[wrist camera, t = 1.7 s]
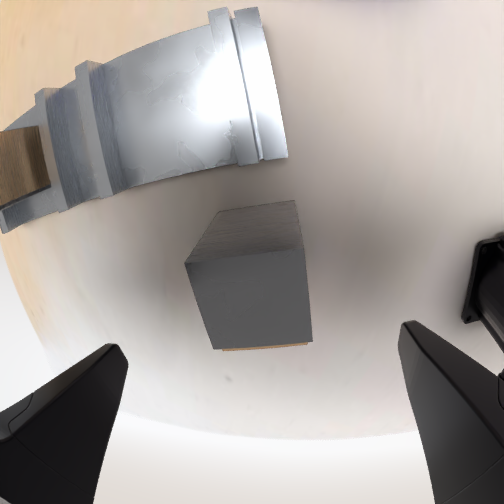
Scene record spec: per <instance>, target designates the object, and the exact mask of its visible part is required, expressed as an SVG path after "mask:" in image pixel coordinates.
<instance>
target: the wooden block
mask: <svg viewBox="0 0 504 504" xmlns="http://www.w3.org/2000/svg"><path fill="white" fill-rule="evenodd" d="M49 188H51V183H50V179H49V175H48V171H47V167H46V162H45V158H44V153H43V148H42V143H41V137H40V132H39V125H36V126H30V127H23V128H17V129H12V130H7V131H2V132H0V212H1V211H3V210H5V209H7V208H9V207H11V206H13V205H15V204H18V203H20V202H22V201H24V200H26V199H28V198H30V197H32V196H34V195H36V194H38V193H40V192H43V191H45V190H47V189H49Z"/></svg>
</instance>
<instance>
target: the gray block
mask: <svg viewBox="0 0 504 504" xmlns="http://www.w3.org/2000/svg"><path fill="white" fill-rule="evenodd" d="M184 264H185V267H186V270H187V273H188V276H189V279H190V283H191V286H192V289H193V292H194V295H195V298H196V301H197V304H198V307H199V310H200V313H201V316H202V318H203V321H204V324H205V327H206V330H207V333H208V335H209V338H210V341H211V344H212V346H213V349H222V350H223V351H234V350H251V349H265V348H277V347H288V346H298V345H307V344H308V342H313V340H312V327H311V315H310V303H309V293H308V283H307V273H306V264H305V255H304V247H303V241H302V236H301V231H300V226H299V220H298V215H297V210H296V205H295V200H293V201H285V202H278V203H271V204H264V205H258V206H251V207H244V208H238V209H232V210H226V211H220V212H218V214H217V215H216V216H215V218H214V219H213V221H212V222H211V224H210V225H209V227H208V228H207V230H206V231H205V233H204V234H203V236H202V237H201V239H200V240H199V242H198V243H197V245H196V246H195V248H194V249H193V251H192V252H191V254H190V255H189V257H188V259H187V260H186V262H185V263H184Z"/></svg>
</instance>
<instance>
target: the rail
mask: <svg viewBox="0 0 504 504" xmlns="http://www.w3.org/2000/svg"><path fill="white" fill-rule="evenodd" d="M234 14H235V18H234V19H232V17H231V15H230V13H229V11H228V9H227V7H224V8H220V9H216V10H212V11H208V17H209V22H210V24H209V25H205V26H201V27H198V28H194V29H191V30H187V31H184V32H181V33H178V34H175V35H172V36H169V37H166V38H163V39H160V40H158V41H155V42H152V43H150V44H147V45H145V46H142V47H140V48H137V49H135V50H133V51H130V52H128V53H126V54H124V55H121V56H119V57H117V58H115V59H113V60H111V61H109V62H107V63H105V64H101V63H97V62H92V61H88V60H87V61H85V62H83V63H81V64H80V65H78V66H76V67H75V74H76V79H75V80H74V81H72V82H70V83H69V84H67V85H65V86H64V87H62V88H43V89H41V90H40V91H38V92H37V93H36V94H35V103H36V105H35V106H34V107H33V108H31V109H30V110H29V111H27V112H26V113H25V114H23V115H22V116H21V117H19V118H18V119H17V120H16V121H14V122H13V123H12V124H11V125H10V126H8V127H7V128H6V129H5V130H4V131H7V130H12V129H17V128H23V127H30V126H36V125H39V132H40V137H41V143H42V148H43V153H44V158H45V162H46V167H47V171H48V175H49V179H50V183H51V188H49V189H47V190H45V191H43V192H40V193H38V194H36V195H34V196H32V197H30V198H28V199H26V200H24V201H22V202H20V203H18V204H15V205H13V206H11V207H9V208H7V209H5V210H3V211H1V212H0V228H1V231H2V234H3V233H4V234H5V233H7V232H9V231H11V230H13V229H15V228H16V227H18V226H20V225H22V224H24V223H26V222H29V221H31V220H34V219H36V218H39V217H42V216H44V215H47V214H50V213H52V212H55V211H59V213H60V212H63V211H66V210H69V209H70V208H72V207H74V206H76V205H78V204H80V203H82V202H84V201H87V200H90V199H94V198H97V197H100V199H103V198H107V197H110V196H113V195H115V194H117V193H119V192H121V191H123V190H126V189H128V188H131V187H134V186H138V185H142V184H145V183H149V182H153V181H157V180H161V179H165V178H169V177H173V176H178V175H182V174H186V173H191V172H195V171H200V170H205V169H209V168H214V167H219V166H225V165H230V164H235V163H238V166H244V165H249V164H255V163H259V161H260V160H261V159H264V161H265V160H271V159H278V158H284V157H288V151H287V145H286V139H285V133H284V128H283V122H282V117H281V111H280V106H279V101H278V96H277V91H276V86H275V81H274V76H273V71H272V67H271V62H270V58H269V53H268V49H267V44H266V40H265V36H264V31H263V27H262V23H261V19H260V15H259V11H258V7H252V8H247V9H241V10H236V11H234Z"/></svg>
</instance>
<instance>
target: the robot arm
mask: <svg viewBox="0 0 504 504" xmlns="http://www.w3.org/2000/svg"><path fill="white" fill-rule="evenodd" d="M482 249H483V250H482ZM462 320H463V322H464V323H465V324H468V323H471V322H474V321H478V320H481V322H482V323H483V324H484V326H485V327H486V328H487V330H488V331H489V332H490V334H491V335H492V337H493V338H494V339H495V341H496V342H497V344H498V345H499V347H500V348H501V350H502V351H503V353H504V235H503V236H502V237H501V238H496V239H491V240H485V241H481V242H479V243H478V245H477V247H476V252H475V258H474V264H473V270H472V275H471V280H470V285H469V290H468V294H467V298H466V302H465V306H464V310H463V314H462ZM398 351H399V355H400V360H401V364H402V369H403V373H404V378H405V383H406V388H407V393H408V396H409V400H410V403H411V406H412V409H413V413H414V416H415V419H416V423H417V426H418V430H419V434H420V437H421V441H422V445H423V449H424V453H425V457H426V461H427V465H428V470H429V474H430V479H431V484H432V489H433V494H434V500H435V504H504V369H503V371H502V372H501V373H499V375H498V376H496V375H495V374H493V373H492V372H491V371H489V370H488V369H486V368H485V367H483V366H482V365H481V364H479V363H478V362H476V361H475V360H473V359H472V358H471V357H469V356H468V355H466V354H465V353H463V352H462V351H460V350H459V349H458V348H456V347H455V346H453V345H452V344H450V343H449V342H447V341H446V340H444V339H443V338H441V337H440V336H438V335H437V334H435V333H434V332H432V331H431V330H429V329H428V328H426V327H425V326H423V325H422V324H420V323H419V322H417V321H415V320H412V321H407V322H403V323H402V325H401V329H400V335H399V341H398ZM127 370H128V361H127V359H126V357H125V356H124V354H123V352H122V350H121V349H120V347H119V346H118V345H117V344H111V343H108V344H105V345H104V346H102V347H101V348H99V349H98V350H96V351H95V352H93V353H92V354H90V355H89V356H87V357H86V358H84V359H82V360H81V361H79V362H78V363H76V364H75V365H73V366H72V367H70V368H69V369H67V370H66V371H64V372H63V373H61V374H60V375H58V376H57V377H55V378H54V379H52V380H51V381H49V382H48V383H46V384H45V385H43V386H42V387H40V388H39V389H37V390H36V391H35V392H34V393H31V394H30V395H28V396H27V397H25V398H24V399H22V400H20V401H19V402H17V403H16V404H14V405H12V406H10V407H9V408H7V409H5V410H3V411H2V412H0V504H93V501H94V496H95V492H96V487H97V483H98V479H99V475H100V471H101V467H102V463H103V460H104V456H105V452H106V449H107V445H108V441H109V438H110V435H111V431H112V427H113V424H114V421H115V418H116V415H117V412H118V408H119V405H120V401H121V397H122V392H123V388H124V383H125V379H126V375H127Z"/></svg>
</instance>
